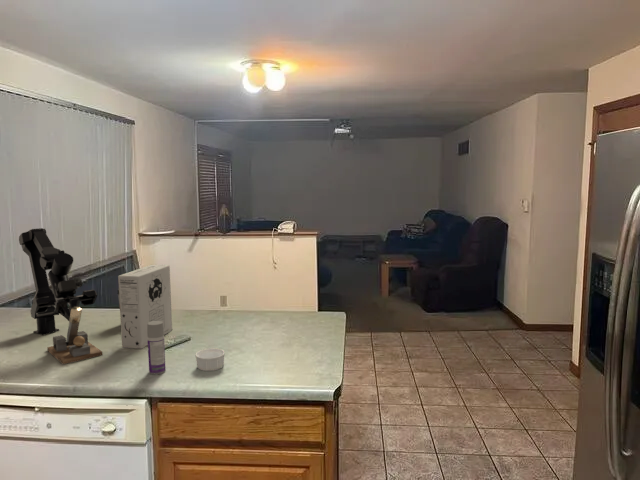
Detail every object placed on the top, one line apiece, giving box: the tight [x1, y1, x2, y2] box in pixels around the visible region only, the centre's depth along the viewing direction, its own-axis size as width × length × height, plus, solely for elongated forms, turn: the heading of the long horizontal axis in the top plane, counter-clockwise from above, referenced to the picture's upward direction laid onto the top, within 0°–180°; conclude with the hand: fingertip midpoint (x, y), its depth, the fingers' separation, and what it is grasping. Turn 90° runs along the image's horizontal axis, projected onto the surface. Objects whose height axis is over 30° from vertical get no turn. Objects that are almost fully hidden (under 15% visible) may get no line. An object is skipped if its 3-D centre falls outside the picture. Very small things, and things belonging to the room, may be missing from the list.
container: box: [147, 321, 167, 375], centre depth 153 cm, size 5×5×15 cm
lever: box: [66, 306, 83, 346], centre depth 169 cm, size 3×4×16 cm
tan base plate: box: [46, 330, 103, 365], centre depth 170 cm, size 17×12×7 cm
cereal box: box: [117, 264, 173, 349], centre depth 184 cm, size 22×8×25 cm, turn 168°
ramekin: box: [195, 347, 226, 372], centre depth 158 cm, size 9×9×4 cm
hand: (72, 322), depth 169 cm, fingers closed, pressing on lever
